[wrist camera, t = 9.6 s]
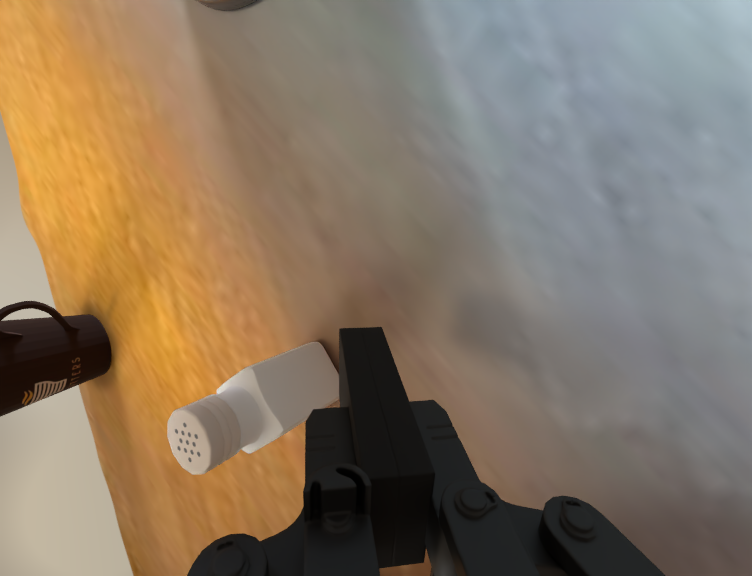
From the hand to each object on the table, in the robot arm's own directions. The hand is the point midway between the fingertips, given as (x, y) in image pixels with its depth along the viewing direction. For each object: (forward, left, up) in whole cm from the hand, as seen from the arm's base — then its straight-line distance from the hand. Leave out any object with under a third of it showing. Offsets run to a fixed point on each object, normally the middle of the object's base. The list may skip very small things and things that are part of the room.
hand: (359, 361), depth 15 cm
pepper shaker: (+10, -1, -8) cm, 13 cm away
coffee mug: (+33, -15, -8) cm, 38 cm away
